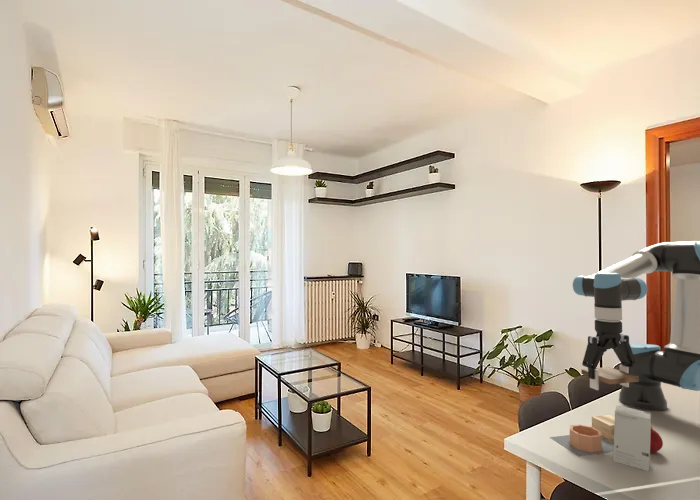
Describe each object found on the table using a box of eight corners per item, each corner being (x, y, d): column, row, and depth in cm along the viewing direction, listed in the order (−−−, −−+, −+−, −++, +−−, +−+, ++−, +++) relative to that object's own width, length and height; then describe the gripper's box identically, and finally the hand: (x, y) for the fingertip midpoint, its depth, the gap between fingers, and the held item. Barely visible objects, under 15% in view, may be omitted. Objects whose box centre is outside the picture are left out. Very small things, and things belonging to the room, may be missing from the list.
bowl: (586, 437, 123) (586, 423, 123) (608, 450, 115) (608, 435, 115) (564, 440, 122) (563, 426, 122) (585, 453, 114) (584, 438, 114)
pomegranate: (667, 459, 111) (667, 431, 112) (644, 457, 113) (644, 429, 113) (655, 449, 117) (655, 422, 117) (634, 447, 118) (634, 421, 118)
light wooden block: (609, 429, 130) (609, 414, 130) (628, 439, 124) (628, 423, 124) (592, 431, 129) (591, 416, 129) (610, 441, 122) (609, 425, 122)
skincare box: (613, 463, 109) (612, 410, 110) (615, 454, 114) (615, 404, 114) (650, 474, 104) (649, 418, 104) (651, 464, 109) (651, 411, 109)
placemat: (591, 434, 127) (591, 432, 127) (624, 452, 115) (624, 450, 115) (549, 439, 124) (549, 437, 124) (578, 458, 112) (578, 456, 112)
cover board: (608, 371, 133) (608, 367, 133) (638, 381, 122) (638, 376, 122) (581, 373, 131) (581, 369, 131) (609, 384, 120) (609, 379, 120)
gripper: (627, 316, 133) (628, 380, 133) (568, 319, 128) (569, 386, 128) (648, 320, 126) (649, 388, 125) (586, 323, 121) (588, 394, 120)
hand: (609, 387), depth 126 cm, fingers closed on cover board, 11 cm apart
